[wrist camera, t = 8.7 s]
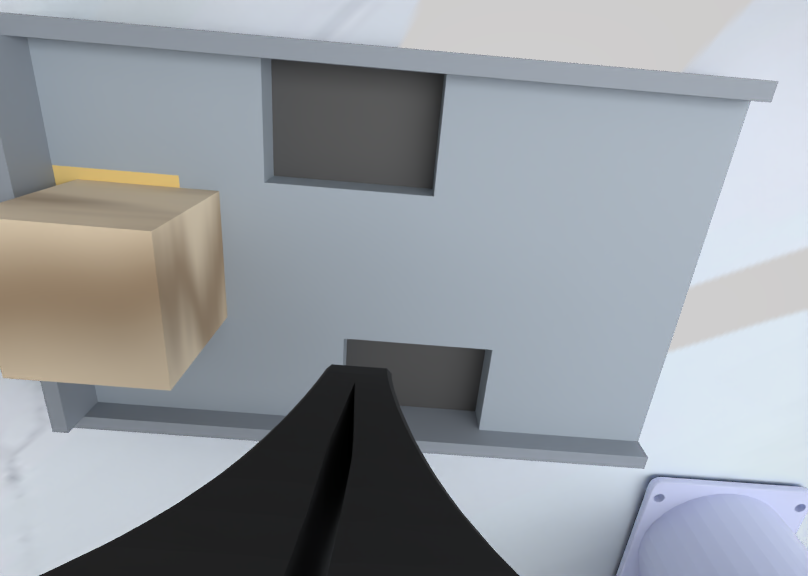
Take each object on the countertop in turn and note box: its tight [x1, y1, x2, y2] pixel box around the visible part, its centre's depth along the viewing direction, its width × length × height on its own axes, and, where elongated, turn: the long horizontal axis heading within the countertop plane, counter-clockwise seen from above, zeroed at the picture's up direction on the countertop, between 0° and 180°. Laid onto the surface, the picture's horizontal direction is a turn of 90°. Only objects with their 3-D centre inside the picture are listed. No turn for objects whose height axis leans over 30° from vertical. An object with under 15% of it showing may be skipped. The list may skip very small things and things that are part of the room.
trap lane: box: [0, 12, 778, 469], centre depth 19 cm, size 15×24×4 cm, turn 85°
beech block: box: [0, 179, 227, 391], centre depth 16 cm, size 5×5×5 cm
